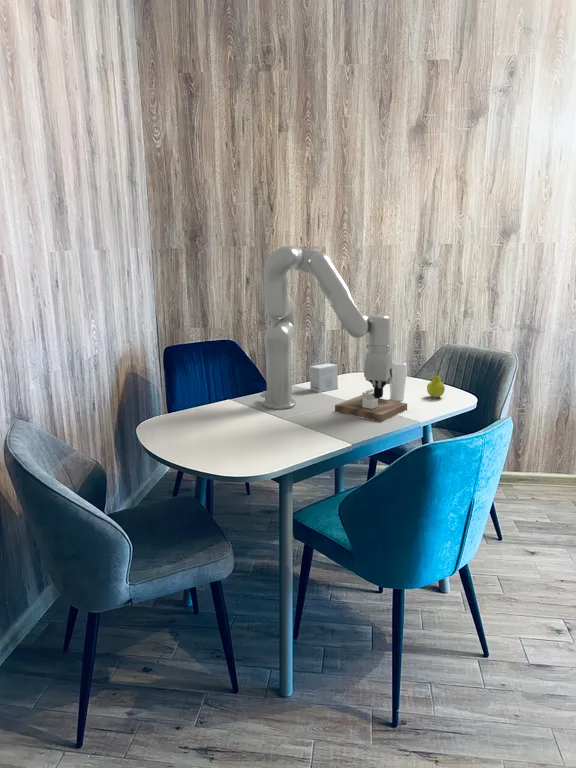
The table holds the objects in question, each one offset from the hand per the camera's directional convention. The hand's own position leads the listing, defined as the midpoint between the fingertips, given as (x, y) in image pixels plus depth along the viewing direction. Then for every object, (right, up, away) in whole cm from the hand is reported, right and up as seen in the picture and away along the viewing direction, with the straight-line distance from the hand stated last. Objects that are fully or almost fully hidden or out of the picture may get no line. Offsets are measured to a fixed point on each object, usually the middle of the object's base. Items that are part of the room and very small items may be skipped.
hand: (378, 397), depth 211 cm
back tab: (-3, -1, +3) cm, 4 cm away
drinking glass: (+9, -1, +12) cm, 16 cm away
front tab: (-4, -3, -7) cm, 8 cm away
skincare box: (-18, +3, +30) cm, 36 cm away
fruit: (+25, 0, +16) cm, 30 cm away
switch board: (-3, -5, -2) cm, 6 cm away
